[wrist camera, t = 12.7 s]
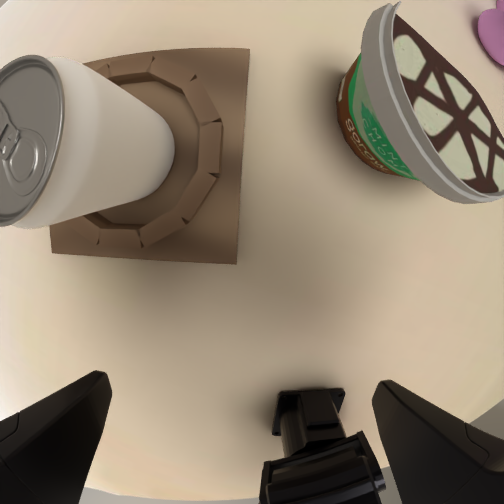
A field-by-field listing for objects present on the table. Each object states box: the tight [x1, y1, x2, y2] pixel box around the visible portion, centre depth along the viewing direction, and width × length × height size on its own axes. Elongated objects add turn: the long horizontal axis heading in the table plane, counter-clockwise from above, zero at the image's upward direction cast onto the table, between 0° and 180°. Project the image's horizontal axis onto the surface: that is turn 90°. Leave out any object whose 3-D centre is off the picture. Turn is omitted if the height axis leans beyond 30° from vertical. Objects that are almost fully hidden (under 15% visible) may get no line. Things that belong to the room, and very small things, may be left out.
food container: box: [336, 1, 504, 204], centre depth 13 cm, size 12×6×10 cm, turn 55°
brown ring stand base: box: [50, 48, 250, 264], centre depth 16 cm, size 15×15×3 cm
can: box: [0, 55, 175, 229], centre depth 11 cm, size 6×6×12 cm
